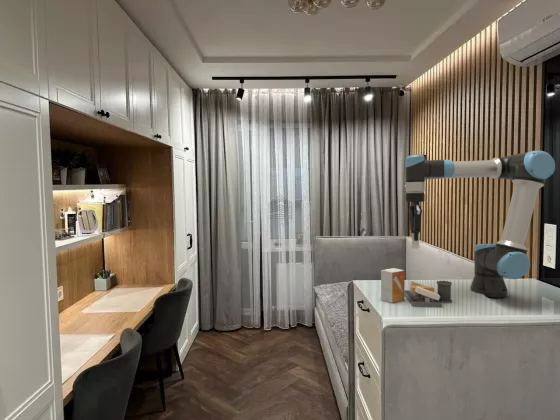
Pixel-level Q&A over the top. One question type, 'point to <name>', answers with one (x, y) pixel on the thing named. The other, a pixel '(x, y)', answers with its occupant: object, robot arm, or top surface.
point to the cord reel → (444, 291)
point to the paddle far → (415, 283)
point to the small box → (392, 285)
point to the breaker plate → (421, 300)
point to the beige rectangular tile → (427, 293)
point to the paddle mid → (430, 288)
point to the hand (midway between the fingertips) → (415, 248)
